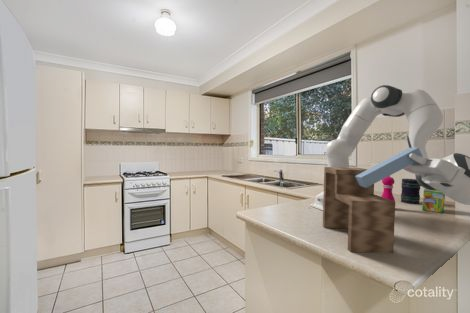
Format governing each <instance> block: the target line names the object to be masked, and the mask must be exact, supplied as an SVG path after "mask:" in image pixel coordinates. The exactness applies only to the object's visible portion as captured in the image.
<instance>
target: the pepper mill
mask: <svg viewBox="0 0 470 313" xmlns="http://www.w3.org/2000/svg"><path fill="white" fill-rule="evenodd" d="M381 183H382V184H383V185H382V187H383V192H382V194H381V196H380V197H383V198H386V199H389V200H392V201H395V197H394V194H393V188H394V184H395V179H394V178H393V177H392V176H391V175H390V176H388V177H386V178H384V179H382V180H381ZM395 202H396V201H395Z"/></svg>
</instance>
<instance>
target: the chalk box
mask: <svg viewBox="0 0 470 313" xmlns="http://www.w3.org/2000/svg"><path fill="white" fill-rule="evenodd" d="M422 195H423V197H422V208H421V209H422V211H426V212H432V213H437V214H438V213H439V214H444V210H445V200H446V195H444V194H443V193H442V192H441V191H439V190H436V191H433V190H429V189H426V188H424V189H423V193H422Z"/></svg>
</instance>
